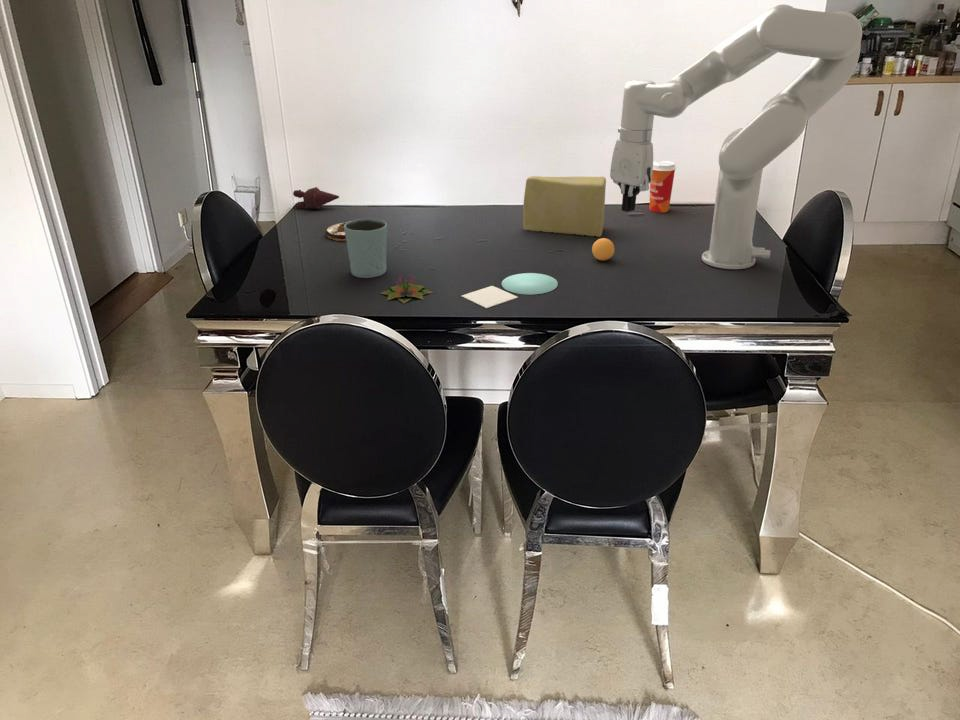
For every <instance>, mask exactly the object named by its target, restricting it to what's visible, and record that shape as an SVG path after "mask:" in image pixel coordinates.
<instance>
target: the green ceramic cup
mask: <svg viewBox="0 0 960 720" xmlns="http://www.w3.org/2000/svg"><path fill="white" fill-rule="evenodd" d="M348 221H349V222H347V221H346V222H347V223H346V224H345V225H344V230H345V235H346V241H345V242H346V248H347V254H348V259H349V262H350V266H349V267H350V273H351V275H352V276H353V277H356V278H361V279H362V278H363V279H369V278H378V277H380V276H383V275H384V274H386V272H387V254H388V253H387V248H388V247H387V236H388V224H387V222H386V221H385V220H382V219H378V218H359V219H354V220H348Z"/></svg>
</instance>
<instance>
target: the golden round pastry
mask: <svg viewBox="0 0 960 720" xmlns="http://www.w3.org/2000/svg"><path fill="white" fill-rule="evenodd" d="M349 221H350V220H347V221H345V222H340V223H335V224H333V225H331V226H329V227H327V228H326V229H325V235H326V236H327V238H328V239H330V240H333V241H337V242H347V241H346V235H345V230H344V225H345V224H346V223H347V222H349Z"/></svg>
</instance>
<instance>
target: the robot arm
mask: <svg viewBox="0 0 960 720" xmlns="http://www.w3.org/2000/svg"><path fill="white" fill-rule="evenodd" d="M862 38H863V27H862V24H861V22H860V20H859V19H858V18H857V17H856V16H855V15H854V14H852V13H851V12H848V11H844V10H843V11H842V10H841V11H834V12H828V11H820V10H819V11H817V10H809V9H803V8H795V7H793V6H792V5H789V4H778V5H775V6H773V7H772V8H770V9H768V10H767V11H765V12H764V13H762V14H761V15H759V16H758V17H757V18H755V19H754V20H752V21H751V22H749V23H748V24H746V25H745V26H743V27H742V28H740V29H739V30H738V31H736V32H734V33H733V34H732V35H730V36H729V37H727V38H726V39H724V40H722V42H720V43H719V44H717V45H716V46H715V47H713V49H711V50H710V51H709V52H708V53H707V54H706V55H704V56H703V57H701V58H700V59H699V60H697V61H696V62H695V63H693V64H692V65H690V66H689V67H687V68H686V69H684V70H683V71H681V72H679V74H677V75H676V76H673V77H672V78H671V79H670V80H668V81H667V82H665V83H660V84H657V83H656V82H655V81H652V80H649V79H648V80H647V79H633V80H629V81H627V82H626V83H625V85H624V87H623V97H622V99H623V100H622V108H621V109H622V110H621V119H620V126H619V127H618V129H617V133H619V138H618V139H616V142H615V144H614V148H613V152H612V157H611V163H610V170H609V177H610V179H611V180H612V182H613V183H614V184H615V185H617V186H618V188H619V189H620V194H621V195H622V198H621V199H622V201H621V202H622V203H621V211H622V212H626V213H628V212H633V211H635V209H636V202H637V196H638V195H639V194H640V193H641V192H646V191H647V192H648V191H650V182H651V180H652V173H653V162H654V144H653V142H652V136H653V127H654V120H655V119H654V118H655V116H657V117H661V118H667V119H672V118H674V119H675V118H677V117H679V116H680V115H681V114H682V115H683V113H684V112H685V110H686V109H687V108H688V107H689V106H691V105H692V104H694V103H695V102H696V101H698V100H699V99H701V98H702V97H704V96H705V95H707V94H708V93H710V92H711V91H714V90H715V89H717V88H718V87H720V86H722V85H724V84H727V83H731V82H733V81H735V80H737V79H739V78H741V77H742V76H744V75H745V74H747V73H748V72H750V71H751V70H753V69H755V68H756V67H757V66H759V65H760V64H762V63H763V62H766V60H769V59H770V58H772V57H773V56H774V55H776V54H777V53H781V54H786V55H791V56H792V55H793V56H798V57H799V56H801V57H809V58H813V60H812V61H811V62H810V64H809V65H808V66H807V67H806V68H805V69H804V70H802V71H801V73H800V74H799V75H798V76H797V77H795V78H794V79H793V80H792V81H791V82H789V84H788V85H786V86H785V87H784V88H783V89H782V90H780V91H779V93H777V94H775V96H773V97H772V98H770V99H769V100H768V101H767V102H766V103H765V104H764V106H763V107H762V109H761V110H760V112H759V113H758V114H757V115H756V116H755V117H754V118H753V119H751V121H750V122H748V123H747V124H746V125H745V126H744V127H740V128H737V129H734V130H733V131H731V132H730V133H729V134H728V135H727V137H725V139H724V141H723V142H722V145H721V147H720V150H719V154H718V166H719V170H718V179H717V187H716V193H715V194H716V196H715V201H714V210H713V218H712V225H711V234H710V241H709V248H708V250H705V251H704V252H702V254H701V260H702V261H703V263H704V264H706V265H709V266H710V267H714V268H717V269H718V268H719V269H725V270H743V269H744V270H745V269H748V268H751V267H753V266H754V265H755V264H756V258H762V259H770V257H771V251H772V250H769V249H766V248H765V247H755V246H754V245H753V234H754V230H755V229H754V227H755V222H756V215H757V208H758V202H759V198H760V197H759V196H760V189H761V183H762V176H763V171H764V168H765V167H767V166H768V165H769V164H770V163H772V162H773V161H774V160H775V159H776V158H777V157H778V156H780V155H781V154H782V153H783V152H784V151H785V150H787V149H788V148H789V147H790V146H791V145H793V143H795V142H796V141H797V139H799V138H800V136H801V135H802V133H804V130H805V129H806V125H807V121H808V120H809V119H810V118H812V117H813V116H814V115H815V114H816V113H817V112H818V111H819V110H820V109H821V108H823V107H824V106H825V105H826V104H827V103H828V102H829V101H830V100H832V99H833V97H835V96H836V95H837V94H838V93H839V92H840V90H842V89H843V88H844V87H845V86H846V85H847V83H848V81H849V80H850V78H851V77H852V76H853V74H854V72H855V69H856V67H857V65H858V63H859V58H860V54H861V50H862V49H861V48H862Z"/></svg>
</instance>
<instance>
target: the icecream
mask: <svg viewBox="0 0 960 720" xmlns="http://www.w3.org/2000/svg"><path fill="white" fill-rule="evenodd" d="M292 195H293V196H294V197H296V198H298V199H303V201H298V202H296V203H294V208H295V209H298V210H300V209H303V208H305V207H307V208H309V209H312V210H313V209H314V210H320V209H321V208H322V207H323V206H324V205H326V204H328V203H332V202H333V201H335V200H337V199H340V195H336V194H333V193H330V192H327V191H323V190H321V189H319V188H318V187H317V186H315V187H311V188H308V189H307V190H306V191H302V190H301V189H297V190H294V191H293V193H292Z"/></svg>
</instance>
